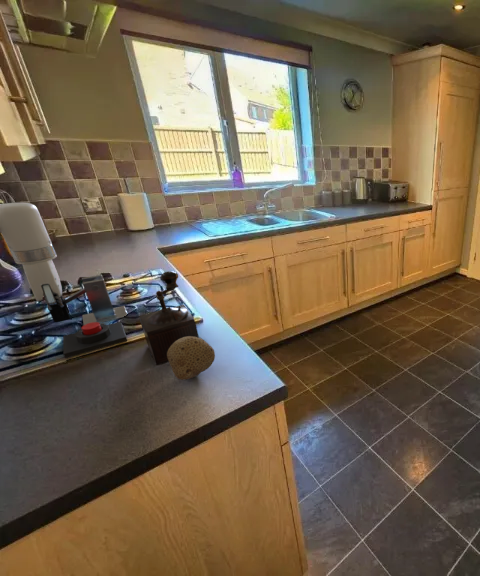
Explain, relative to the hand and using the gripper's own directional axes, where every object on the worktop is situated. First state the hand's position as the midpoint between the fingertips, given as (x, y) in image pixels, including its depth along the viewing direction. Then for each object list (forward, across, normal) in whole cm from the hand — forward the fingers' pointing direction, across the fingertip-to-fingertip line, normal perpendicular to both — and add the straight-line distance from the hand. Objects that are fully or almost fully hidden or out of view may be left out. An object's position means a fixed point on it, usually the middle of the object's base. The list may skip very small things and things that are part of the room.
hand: (62, 316), depth 90 cm
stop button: (0, +14, +6) cm, 15 cm away
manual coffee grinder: (+4, +26, +20) cm, 33 cm away
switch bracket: (+4, 0, +9) cm, 9 cm away
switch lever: (-4, 0, +5) cm, 6 cm away
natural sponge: (+4, +43, +22) cm, 48 cm away
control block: (+4, +14, +6) cm, 16 cm away
